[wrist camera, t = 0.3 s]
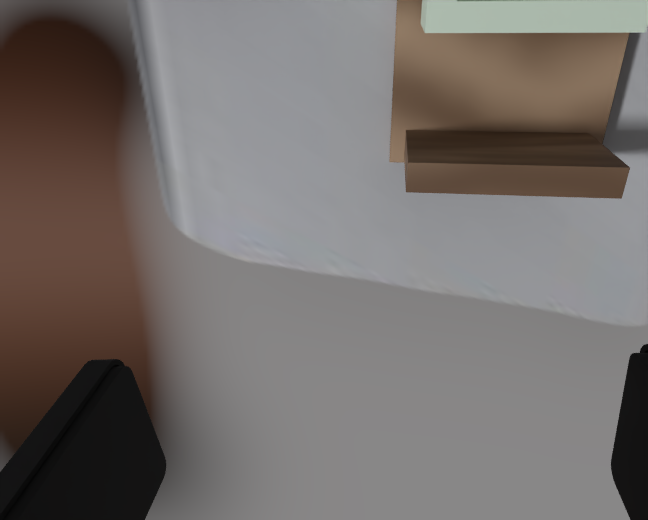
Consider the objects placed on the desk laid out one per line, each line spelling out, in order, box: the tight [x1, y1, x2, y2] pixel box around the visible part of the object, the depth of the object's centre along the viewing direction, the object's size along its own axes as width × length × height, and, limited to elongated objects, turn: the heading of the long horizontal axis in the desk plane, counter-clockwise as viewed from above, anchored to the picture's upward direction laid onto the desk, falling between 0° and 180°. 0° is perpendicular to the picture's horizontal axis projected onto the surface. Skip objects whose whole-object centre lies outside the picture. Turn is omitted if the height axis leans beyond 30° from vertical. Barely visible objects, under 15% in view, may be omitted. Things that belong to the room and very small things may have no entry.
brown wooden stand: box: [390, 0, 630, 198], centre depth 29 cm, size 20×14×8 cm
